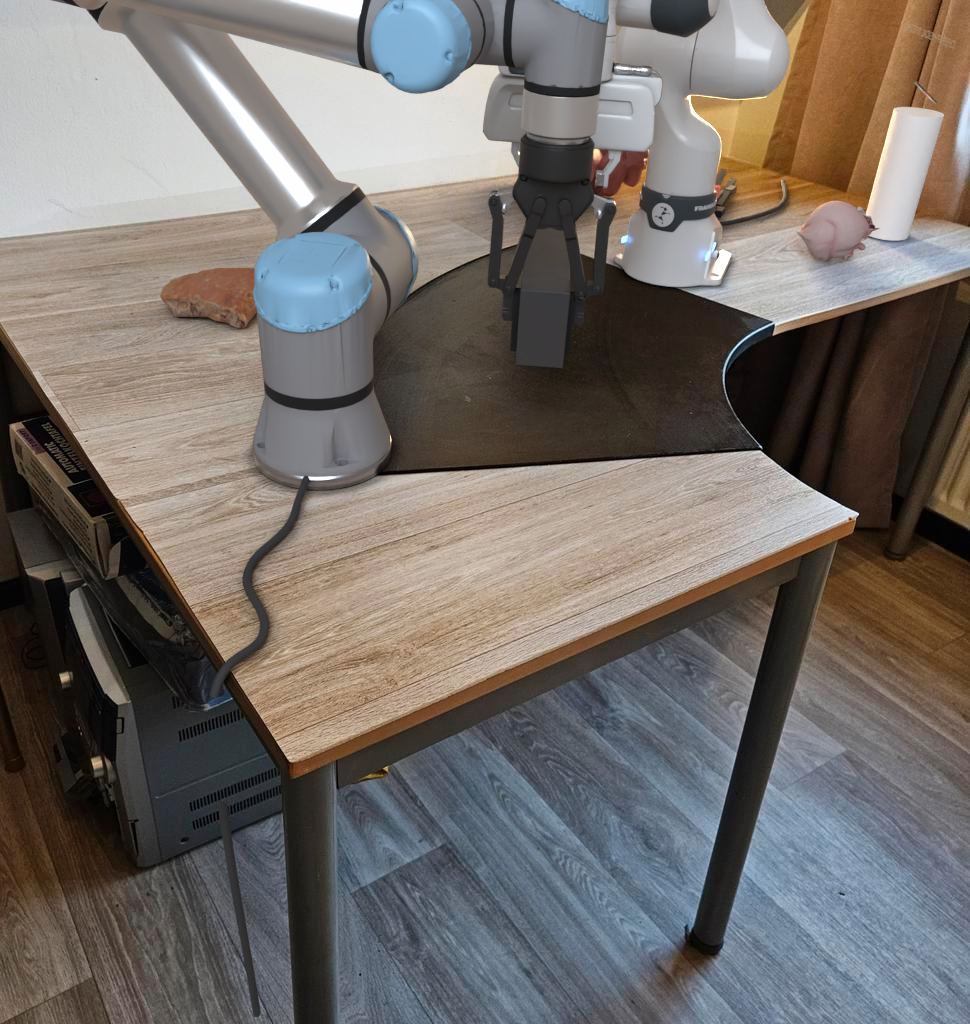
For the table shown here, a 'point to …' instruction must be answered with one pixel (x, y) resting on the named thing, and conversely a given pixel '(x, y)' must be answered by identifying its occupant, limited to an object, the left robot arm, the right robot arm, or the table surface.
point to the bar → (544, 301)
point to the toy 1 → (724, 192)
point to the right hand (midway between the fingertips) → (562, 184)
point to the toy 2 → (836, 230)
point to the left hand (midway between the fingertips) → (540, 347)
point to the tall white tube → (903, 167)
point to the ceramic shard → (213, 295)
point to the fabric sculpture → (618, 170)
